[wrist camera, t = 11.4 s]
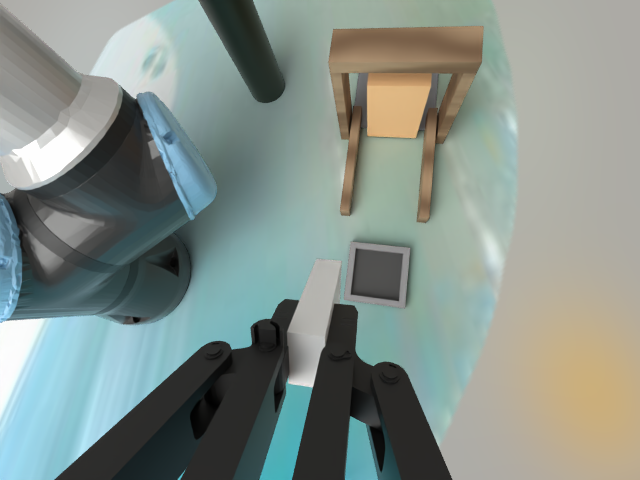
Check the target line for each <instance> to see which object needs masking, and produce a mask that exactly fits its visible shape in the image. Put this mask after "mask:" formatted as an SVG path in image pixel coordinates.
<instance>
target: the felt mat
mask: <svg viewBox="0 0 640 480" xmlns="http://www.w3.org/2000/svg"><path fill="white" fill-rule="evenodd" d="M368 74H369V73H359V76H358V84H357V92H356V99H355V106H362V119H361V128H367V82H368ZM437 85H438V73H432V79H431V88H430V91H429V95H428V98H427V102H426V105H425V108H424V112H423V115H422V119H421V122H420V126H419V129H418V130H425V121H426V115H427V112H428V108H436V98H437Z"/></svg>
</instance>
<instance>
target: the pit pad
mask: <svg viewBox="0 0 640 480" xmlns="http://www.w3.org/2000/svg"><path fill="white" fill-rule="evenodd" d="M409 256H410V248H406V247H397V246H388V245H378V244H369V243H359V242H351V243H350V252H349V260H348V268H347V276H346V285H345V293H344V300H349V301H356V302H363V303H370V304H377V305H384V306H391V307H398V308H405V302H406V291H407V279H408V267H409Z"/></svg>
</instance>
